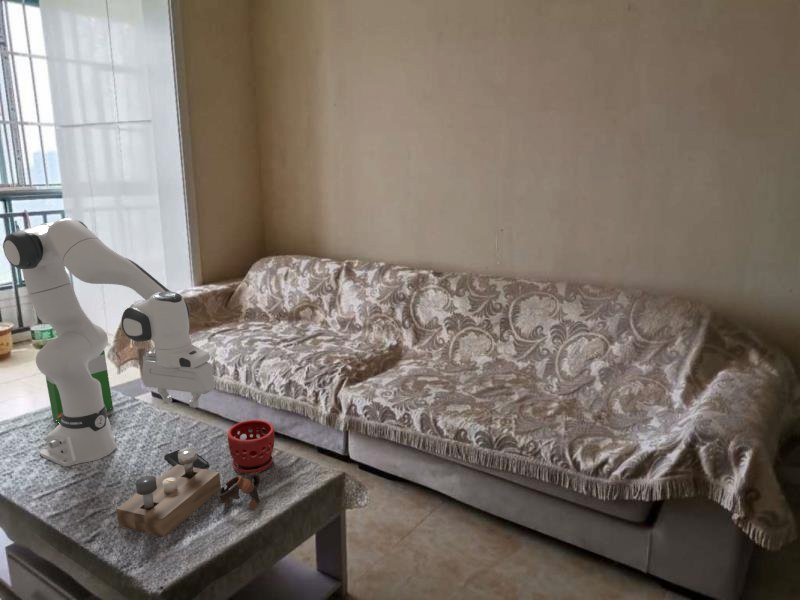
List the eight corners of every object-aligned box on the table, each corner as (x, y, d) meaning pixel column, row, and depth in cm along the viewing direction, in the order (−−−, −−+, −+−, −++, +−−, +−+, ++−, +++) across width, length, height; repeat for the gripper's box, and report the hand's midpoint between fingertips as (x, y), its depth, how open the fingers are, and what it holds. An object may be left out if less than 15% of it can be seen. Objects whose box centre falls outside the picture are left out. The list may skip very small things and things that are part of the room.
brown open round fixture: (248, 519, 145) (229, 495, 144) (226, 523, 151) (207, 500, 149) (275, 484, 155) (257, 461, 153) (253, 489, 160) (236, 467, 158)
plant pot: (224, 478, 163) (220, 439, 161) (239, 454, 176) (235, 418, 173) (270, 478, 163) (266, 440, 160) (281, 455, 176) (278, 419, 173)
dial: (160, 491, 148) (159, 482, 148) (169, 485, 151) (168, 475, 151) (171, 493, 147) (169, 484, 147) (179, 487, 150) (178, 477, 150)
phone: (187, 446, 180) (210, 463, 170) (187, 449, 181) (210, 466, 170) (162, 455, 175) (184, 473, 165) (163, 459, 175) (184, 477, 165)
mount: (118, 526, 143) (115, 508, 142) (179, 480, 163) (177, 464, 162) (164, 537, 138) (161, 519, 137) (221, 488, 158) (219, 472, 157)
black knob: (134, 509, 141) (131, 484, 139) (148, 498, 145) (145, 474, 144) (149, 512, 140) (146, 487, 138) (163, 502, 144) (159, 477, 142)
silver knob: (176, 477, 155) (173, 454, 153) (188, 469, 159) (185, 446, 157) (190, 480, 153) (188, 457, 152) (202, 471, 158) (199, 448, 156)
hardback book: (105, 402, 216) (95, 341, 211) (113, 408, 211) (103, 346, 206) (53, 418, 204) (41, 354, 198) (60, 424, 199) (48, 359, 193)
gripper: (133, 355, 148) (140, 404, 152) (198, 362, 142) (205, 414, 145) (151, 347, 154) (157, 395, 158) (215, 354, 147) (220, 404, 151)
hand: (180, 404), depth 151 cm, fingers open, 7 cm apart
